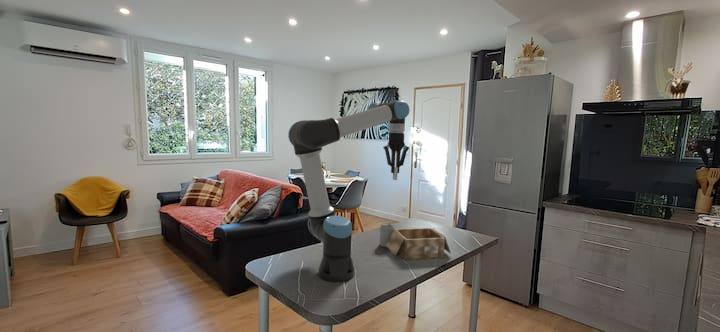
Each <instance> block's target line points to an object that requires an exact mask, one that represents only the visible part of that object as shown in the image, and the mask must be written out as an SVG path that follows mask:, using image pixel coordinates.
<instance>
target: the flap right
mask: <svg viewBox="0 0 720 332" xmlns="http://www.w3.org/2000/svg"><path fill="white" fill-rule="evenodd" d="M431 229H433V230H434V231H436V232H437V233H439V234H440V235H441V236H443V237H444V238H445V246H444V251H446V252H448V253H449V254H451V249H450V246H449V243H448V241H447V240H448V239H447V238H446V236H445V235H443V234H442V233H440V232H439V231H438V230H436V229H435V228H431Z"/></svg>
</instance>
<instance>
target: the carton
mask: <svg viewBox="0 0 720 332" xmlns="http://www.w3.org/2000/svg"><path fill="white" fill-rule="evenodd" d="M394 229H395V228H394ZM433 229H434V228H433ZM433 229H432V228H430V227H428V228H427V227H425V228H424V227H423V228H422V227H421V228H419V227H417V228H396V229H395V230H396V231H397V232H398V233H399V234H400V235H401V236H402V237H403V238H404V240H403V242H402V244H401V246H400V248H399V250H398V252H397V254H399V255H400V256H401V258H402V259H403V260H404V261H411V260H412V261H414V260H432V259H444V258H445V249H444V246H445V238H444V237H443V236H441V235H440V234H439V233H440V232H439V233H437V232H436V231H437V230H436V231H434V230H433Z"/></svg>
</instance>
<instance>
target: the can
mask: <svg viewBox="0 0 720 332" xmlns="http://www.w3.org/2000/svg"><path fill="white" fill-rule="evenodd" d="M394 229H395V226H394V223H392V222H387V221H386V222H381V225H380V226H379V245H380V247H382V248H388V247H387V246H386V244H387V242H388V240H389V239H390V237H391V235H392V233H393V231H394ZM388 249H389V248H388Z"/></svg>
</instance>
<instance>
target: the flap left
mask: <svg viewBox="0 0 720 332" xmlns="http://www.w3.org/2000/svg"><path fill="white" fill-rule="evenodd" d="M403 240H404V238H403V237H402V236H401V235H400V234H399V233H398V232H397V231H396V230H395V228H394V231H393V233H392V235H391V237H390V239H389V240H388V242H387V244H386V246H387V247H388V249H389V251H390V252H391V254H392V255H394V256H397V254H398V250H399V248H400V246H401V244H402V242H403Z"/></svg>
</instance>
